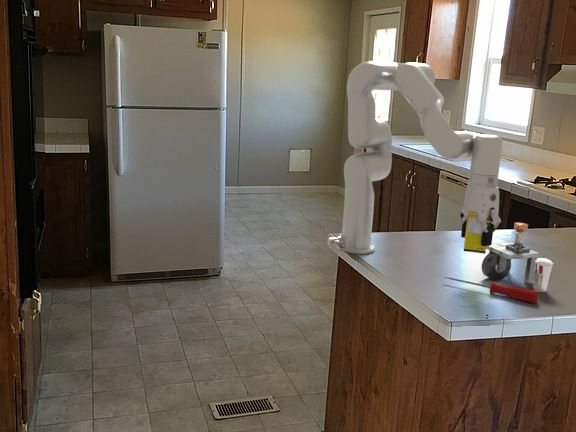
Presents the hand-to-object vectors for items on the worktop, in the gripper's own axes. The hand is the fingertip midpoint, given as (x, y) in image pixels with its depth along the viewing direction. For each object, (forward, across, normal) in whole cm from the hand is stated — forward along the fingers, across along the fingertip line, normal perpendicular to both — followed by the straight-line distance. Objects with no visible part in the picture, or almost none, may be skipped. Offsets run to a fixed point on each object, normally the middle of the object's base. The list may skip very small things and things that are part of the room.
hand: (475, 241), depth 169 cm
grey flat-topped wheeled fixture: (+12, 0, -11) cm, 16 cm away
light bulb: (+3, -2, -13) cm, 14 cm away
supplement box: (+3, 0, 0) cm, 3 cm away
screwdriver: (+12, -9, +1) cm, 15 cm away
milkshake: (+12, -11, -15) cm, 22 cm away
